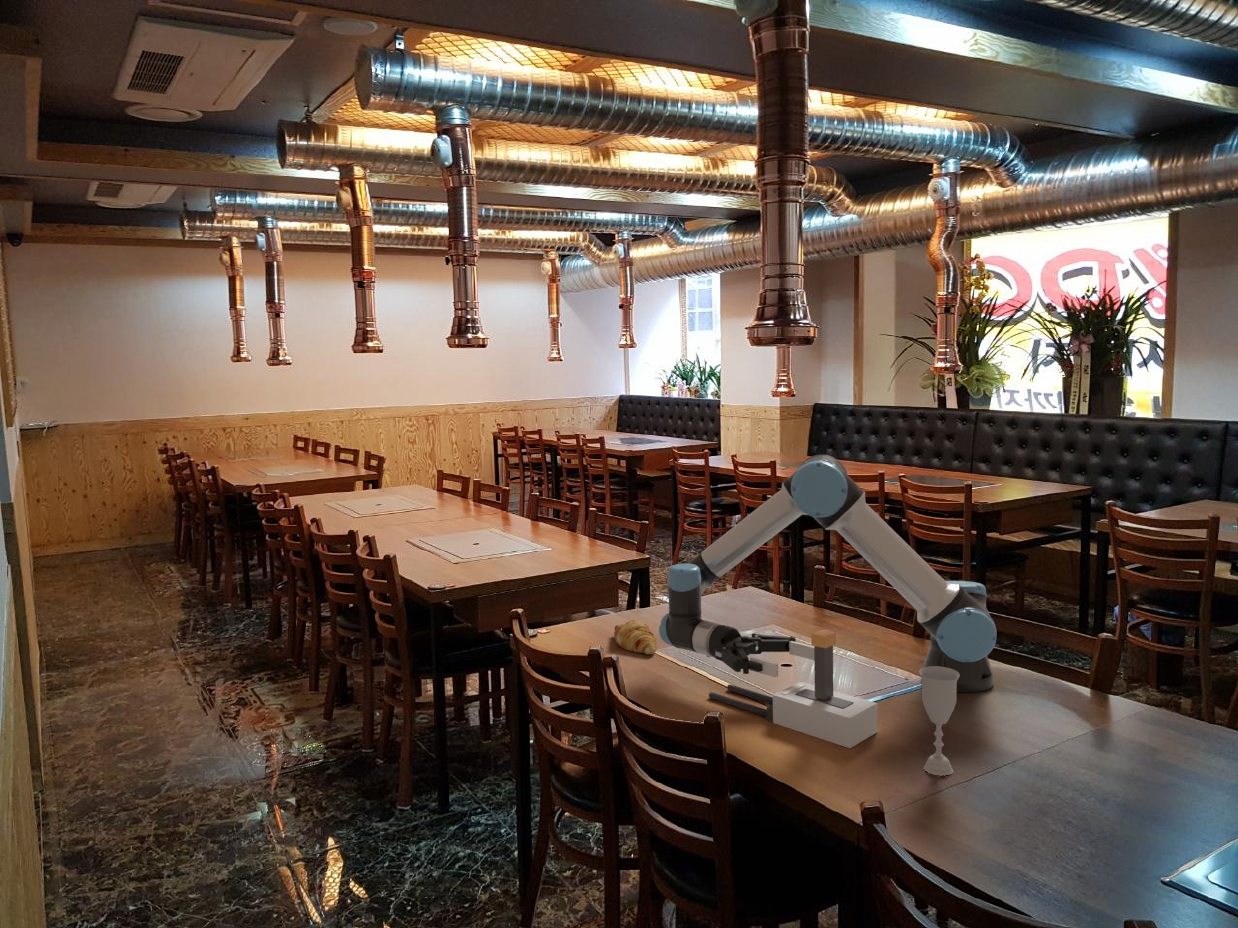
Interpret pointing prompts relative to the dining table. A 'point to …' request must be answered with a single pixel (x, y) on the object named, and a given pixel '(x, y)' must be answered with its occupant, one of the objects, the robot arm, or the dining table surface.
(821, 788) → the dining table surface
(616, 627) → the croissant
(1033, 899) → the dining table surface
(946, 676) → the chalice
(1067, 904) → the dining table surface
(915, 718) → the dining table surface
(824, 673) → the lever
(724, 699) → the grey u-shaped fork
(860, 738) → the box
